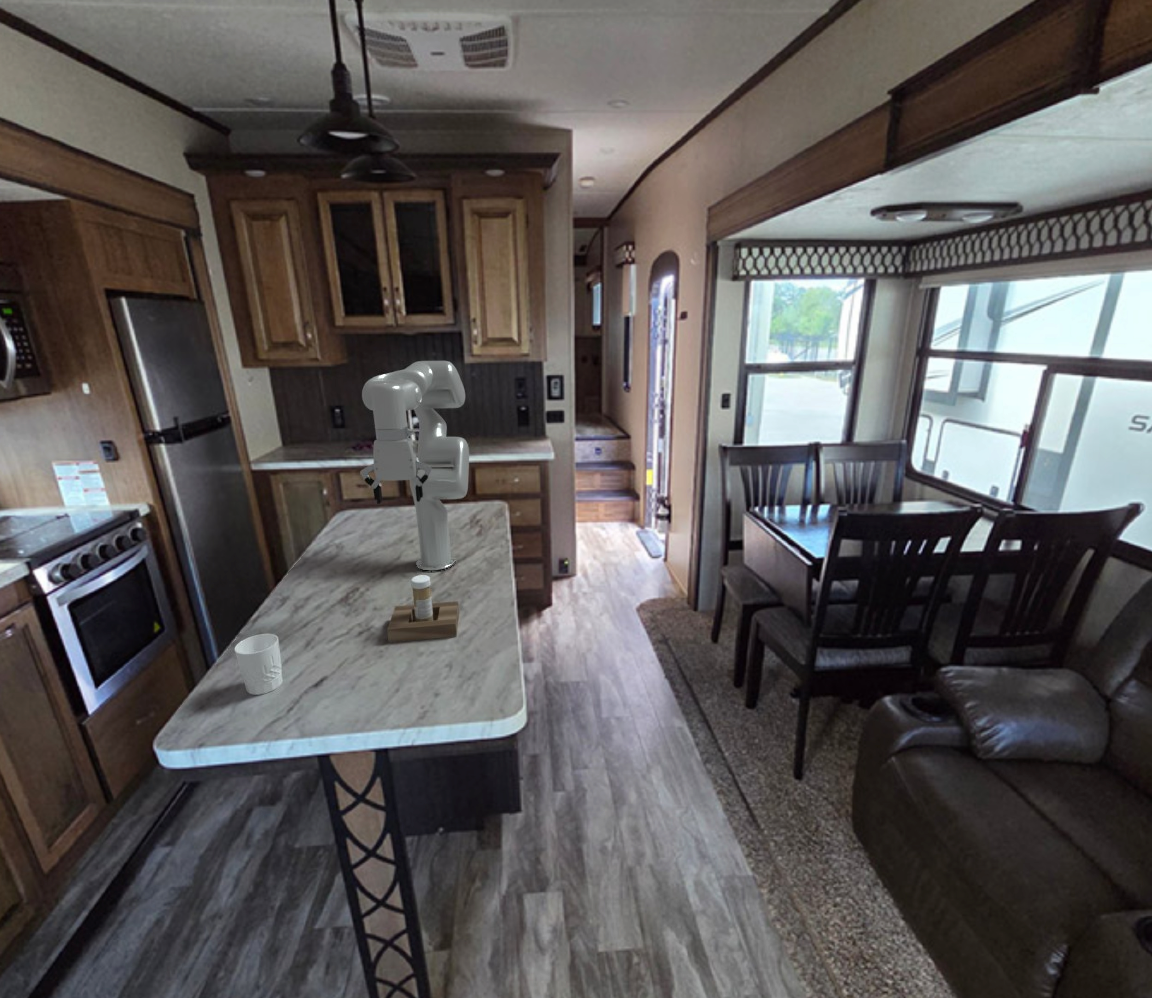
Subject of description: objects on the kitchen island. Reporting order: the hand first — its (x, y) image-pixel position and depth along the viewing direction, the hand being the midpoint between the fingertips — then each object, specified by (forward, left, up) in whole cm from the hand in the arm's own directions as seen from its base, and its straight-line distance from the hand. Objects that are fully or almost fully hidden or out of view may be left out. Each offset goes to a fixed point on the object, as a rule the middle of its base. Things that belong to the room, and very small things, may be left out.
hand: (399, 501), depth 138 cm
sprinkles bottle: (+11, +5, -31) cm, 33 cm away
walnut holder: (+11, +5, -30) cm, 33 cm away
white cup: (+30, -26, -31) cm, 50 cm away
